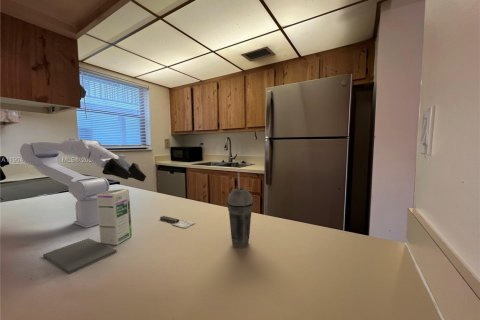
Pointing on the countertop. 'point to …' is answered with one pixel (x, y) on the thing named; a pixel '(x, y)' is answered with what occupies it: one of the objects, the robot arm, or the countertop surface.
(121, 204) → the syrup box
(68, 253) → the mat
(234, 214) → the beverage cup
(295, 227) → the countertop surface
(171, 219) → the spatula
